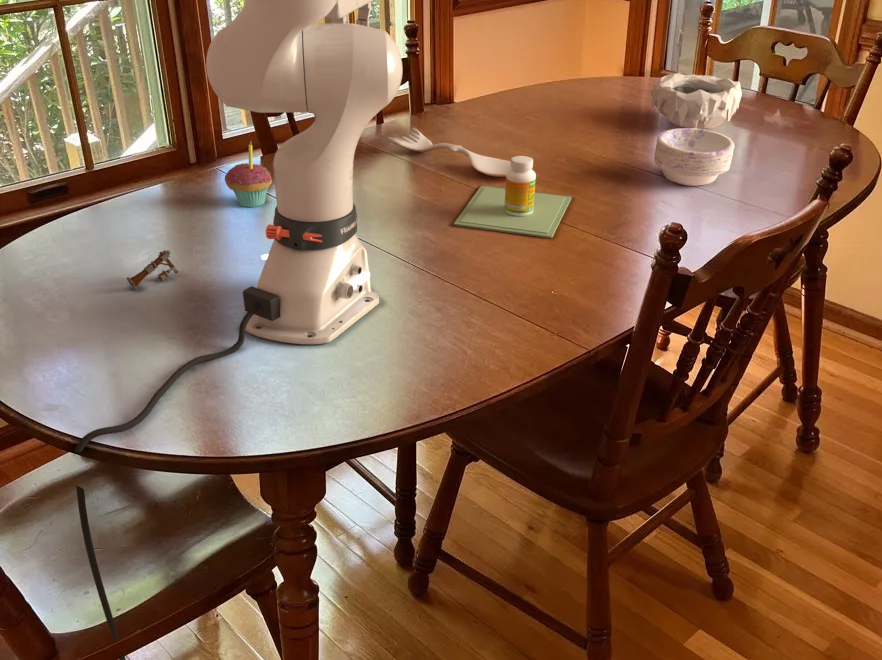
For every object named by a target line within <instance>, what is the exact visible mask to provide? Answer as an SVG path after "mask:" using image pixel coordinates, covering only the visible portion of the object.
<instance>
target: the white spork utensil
mask: <svg viewBox="0 0 882 660" xmlns="http://www.w3.org/2000/svg"><path fill="white" fill-rule="evenodd" d="M405 135H406V136H403V135H402V136H401V138H400V137H398V136H396V137H390V136H388V137H387V141H388V142H389V143H391V144H393V145H395V146H398V147H401V148H404V149H406V150H410V151H413V152H418V153H425V152H430V151H434V150H438V149H446V150H449V151H450V152H452V153H460V154H463V155H464V156H466V157H467V158H468V160H469V162H470V163H471V165H472V167H473V168H474V170H476V171H478V172H480V173H481V174H484V175H486V176H489V177H498V178H502V177H505V178H506V174H507V172H508V170H510V169H512V168H511V160H505V159H501V158H497V157H491V156H486V155H482V154H478V153H475V152H473V151H470V150H468V149H466V148H464V147H462V146H463V145H460V144H459V145H458V144H457V145H456V144H452V143H448V142H438V143H434V144H433V143H432V140H430V139H429V138H428V137H426V136H425V135H424V134H423V133H422V132H421V131H419V130H418V129H417V128H416V127H412V128H411V131H408V133H406V134H405Z"/></svg>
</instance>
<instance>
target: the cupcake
mask: <svg viewBox="0 0 882 660" xmlns="http://www.w3.org/2000/svg"><path fill="white" fill-rule="evenodd" d="M224 182H225V185H226V187H227V188H228V189H229V190H231V191H233V193H234V195H235V198H236V200H237V202H238V203H239V204H238V205H240V206H242V207H244V208H255V207H260V206H262V205H264V204H265V202H266V197H267V193H268V190H269V187H270V185H272V184H273V180H272V176H271V171H269V170H268V169H267V168H266V167H265V166H262V165H261V164H255V163H253V145H252V140H250V141H249V144H248V163H247V162H245V163H237V164H236V165H234V166H232V168H230V169H229V170H228V171H227V172H226V174H225V175H224Z"/></svg>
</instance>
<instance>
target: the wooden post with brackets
mask: <svg viewBox="0 0 882 660" xmlns="http://www.w3.org/2000/svg"><path fill="white" fill-rule="evenodd" d="M171 254H172V252H171V250H169V249H167V250H163V251H160V252H159V253H158V256H157V258H155V259H154V260H151V261H150V263H148V264H147V265H146V266H145V267H143V269H142V270H141V271H140V272H138V273H137V274H135V275H134V276H131V277H129V276H127V277H125V280H127V282H128V283H129V285H130V286H131V287H132V288H133V289H135V290H136V291H138V290H139V287H138V286H139V285H140V284H141V283H142V282H143V281H144V280H145V278H146V277H147V276H148V275H151V274H152V273H153V272H155V271H156V269H158V268H159V266H160V265H163V266H168V267H169V269H166V270H163V269H162V272H160V273H158V274H157V278H156V279H157V281H158V282H160V281H165V279H166V278H169V277H170V275H169V274H171V272H173V273H174V274H176V275H177V274H178V273H179V270H178V269H177V267H176V266H175V265H174V264H173V263H172V261H171V259H169V258H170V257H171Z"/></svg>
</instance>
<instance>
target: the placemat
mask: <svg viewBox="0 0 882 660" xmlns="http://www.w3.org/2000/svg"><path fill="white" fill-rule="evenodd" d="M505 188H506V187H498V186H491V185H480V187H479V188H478V190H476V192H475V194H473V196H472V198H470V200H469V202H467V204H466V206H465V207H464V209H463V210H462V212H461V213H460V214H459V216H458V217H457V218H456V219H455V221H454V223H453V226H455V227H461V228H462V227H463V228H470V229H476V230H477V229H478V230H484V231H485V230H486V231H493V232H499V233H508V234H515V235H523V236H529V237H536V238H542V239H543V238H545V239H553V237H554V235H555V232H556V231H557V228H558V227H559V224H560V223H561V220H562V218H563V217H564V214H565V212H566V210H567V209H568V206H569V205H570V202H571V200H572V196H570V195H562V194H561V195H560V194H553V193H545V192H538V191H537V192H536V191H535V195H534V207H533V212H532V213H531V214H530V215H526V216H513V215H510V214H508V213H506V212H505V210H504V205H505Z"/></svg>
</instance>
